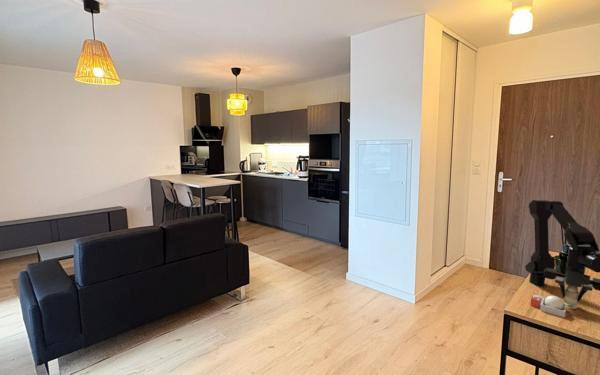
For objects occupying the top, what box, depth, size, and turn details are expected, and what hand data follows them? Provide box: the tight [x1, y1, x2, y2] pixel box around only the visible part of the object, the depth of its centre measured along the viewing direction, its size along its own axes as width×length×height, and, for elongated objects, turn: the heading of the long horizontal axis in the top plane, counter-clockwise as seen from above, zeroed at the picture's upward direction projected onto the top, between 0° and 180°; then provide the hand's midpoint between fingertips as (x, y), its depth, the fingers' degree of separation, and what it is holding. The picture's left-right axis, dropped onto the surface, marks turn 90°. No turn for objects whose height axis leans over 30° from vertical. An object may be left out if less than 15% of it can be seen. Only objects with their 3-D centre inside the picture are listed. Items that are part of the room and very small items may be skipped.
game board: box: [533, 294, 578, 318], centre depth 127 cm, size 18×14×4 cm
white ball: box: [544, 295, 564, 310], centre depth 123 cm, size 6×6×6 cm
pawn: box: [563, 285, 580, 306], centre depth 126 cm, size 4×4×8 cm
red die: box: [529, 295, 542, 309], centre depth 127 cm, size 3×3×3 cm
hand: (570, 299), depth 126 cm, fingers closed on pawn, 4 cm apart
